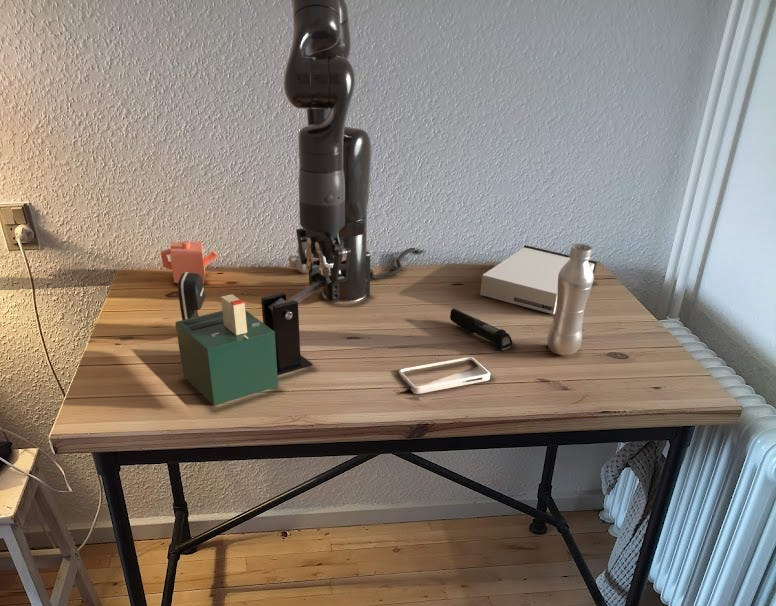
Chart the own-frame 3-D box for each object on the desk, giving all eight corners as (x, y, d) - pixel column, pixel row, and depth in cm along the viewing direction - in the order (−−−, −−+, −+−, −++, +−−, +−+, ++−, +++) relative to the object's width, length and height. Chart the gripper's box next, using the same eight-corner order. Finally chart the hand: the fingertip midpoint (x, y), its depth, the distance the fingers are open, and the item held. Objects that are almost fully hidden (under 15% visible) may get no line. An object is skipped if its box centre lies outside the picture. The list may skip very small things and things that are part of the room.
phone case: (471, 362, 142) (397, 375, 138) (471, 355, 142) (397, 369, 137) (490, 380, 137) (414, 395, 132) (491, 373, 136) (415, 388, 131)
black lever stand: (293, 354, 143) (289, 288, 135) (312, 369, 138) (310, 301, 131) (254, 365, 139) (248, 297, 131) (273, 381, 135) (268, 312, 127)
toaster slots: (232, 310, 131) (232, 309, 131) (242, 317, 129) (242, 317, 129) (183, 322, 127) (183, 321, 127) (192, 330, 125) (192, 329, 125)
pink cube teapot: (221, 284, 168) (217, 247, 163) (164, 287, 166) (159, 249, 161) (220, 271, 174) (216, 235, 169) (165, 274, 172) (159, 237, 167)
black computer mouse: (204, 342, 146) (197, 283, 139) (184, 342, 146) (176, 283, 139) (210, 326, 151) (203, 269, 144) (190, 326, 151) (183, 269, 144)
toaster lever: (321, 281, 137) (317, 269, 135) (336, 290, 134) (332, 278, 132) (268, 314, 134) (263, 303, 132) (283, 325, 131) (278, 313, 129)
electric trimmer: (458, 320, 158) (459, 305, 156) (513, 346, 148) (515, 331, 146) (445, 324, 156) (446, 309, 154) (499, 351, 146) (501, 336, 144)
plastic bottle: (581, 347, 149) (602, 243, 137) (576, 362, 144) (597, 256, 131) (548, 341, 150) (566, 238, 138) (542, 356, 145) (560, 250, 133)
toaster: (245, 363, 140) (240, 305, 133) (279, 391, 132) (275, 331, 125) (184, 381, 134) (175, 320, 127) (215, 411, 126) (207, 348, 119)
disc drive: (592, 282, 175) (597, 261, 172) (554, 315, 160) (558, 292, 157) (522, 266, 182) (525, 245, 179) (479, 296, 167) (481, 273, 164)
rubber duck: (319, 276, 174) (318, 240, 169) (290, 277, 173) (288, 241, 168) (316, 267, 178) (315, 232, 173) (287, 268, 177) (285, 233, 172)
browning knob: (223, 325, 126) (220, 295, 123) (235, 323, 127) (231, 292, 124) (236, 335, 123) (233, 304, 120) (247, 332, 124) (244, 301, 121)
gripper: (365, 204, 123) (364, 306, 133) (318, 183, 132) (320, 279, 142) (325, 211, 119) (327, 315, 130) (280, 189, 128) (285, 287, 139)
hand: (324, 296), depth 136 cm, fingers closed on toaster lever, 5 cm apart
